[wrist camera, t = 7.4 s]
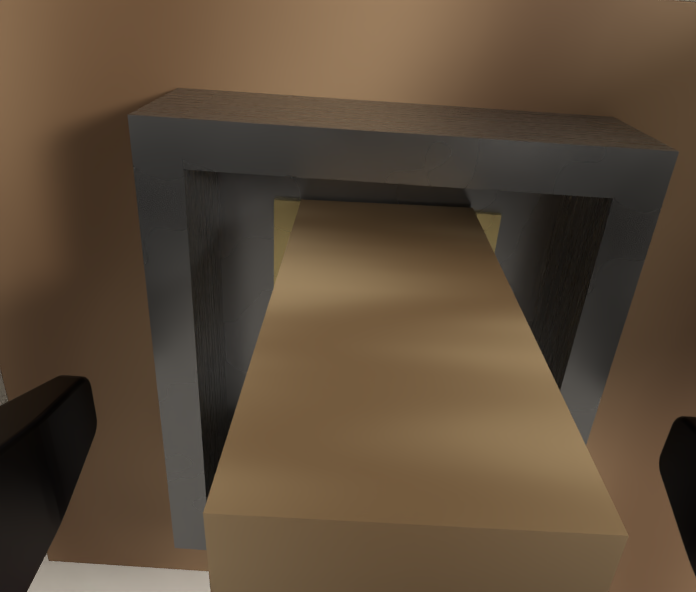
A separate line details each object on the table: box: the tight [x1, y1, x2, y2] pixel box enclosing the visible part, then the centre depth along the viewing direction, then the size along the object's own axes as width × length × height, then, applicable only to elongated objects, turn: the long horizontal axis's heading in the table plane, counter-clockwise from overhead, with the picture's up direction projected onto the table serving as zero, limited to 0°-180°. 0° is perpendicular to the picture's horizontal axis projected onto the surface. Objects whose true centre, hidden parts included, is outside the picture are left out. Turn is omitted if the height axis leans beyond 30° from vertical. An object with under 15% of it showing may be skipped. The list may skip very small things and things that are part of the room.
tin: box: [128, 88, 679, 550], centre depth 11 cm, size 7×8×2 cm
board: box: [0, 0, 696, 592], centre depth 13 cm, size 18×14×1 cm
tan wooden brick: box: [203, 199, 629, 592], centre depth 8 cm, size 3×5×7 cm, turn 178°
